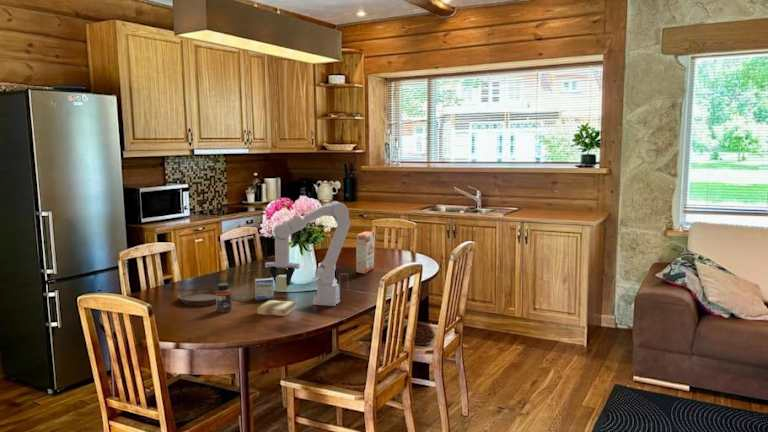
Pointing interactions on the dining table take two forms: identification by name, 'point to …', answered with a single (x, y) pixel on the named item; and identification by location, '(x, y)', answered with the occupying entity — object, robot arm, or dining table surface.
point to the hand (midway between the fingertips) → (282, 284)
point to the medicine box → (264, 289)
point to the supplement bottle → (223, 298)
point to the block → (281, 283)
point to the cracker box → (364, 252)
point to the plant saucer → (198, 296)
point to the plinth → (276, 307)
